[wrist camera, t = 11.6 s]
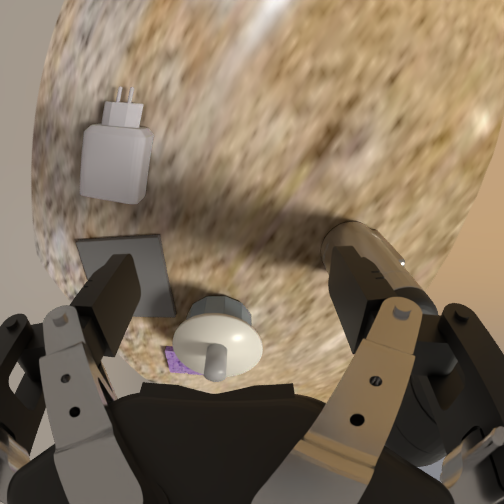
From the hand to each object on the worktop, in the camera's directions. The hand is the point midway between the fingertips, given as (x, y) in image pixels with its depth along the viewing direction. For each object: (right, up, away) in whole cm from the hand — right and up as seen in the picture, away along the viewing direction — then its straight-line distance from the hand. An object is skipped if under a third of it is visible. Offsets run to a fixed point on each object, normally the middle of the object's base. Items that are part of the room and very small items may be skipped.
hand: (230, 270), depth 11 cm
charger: (-17, +16, +23) cm, 33 cm away
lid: (-5, -14, +32) cm, 35 cm away
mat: (-20, -4, +33) cm, 39 cm away
